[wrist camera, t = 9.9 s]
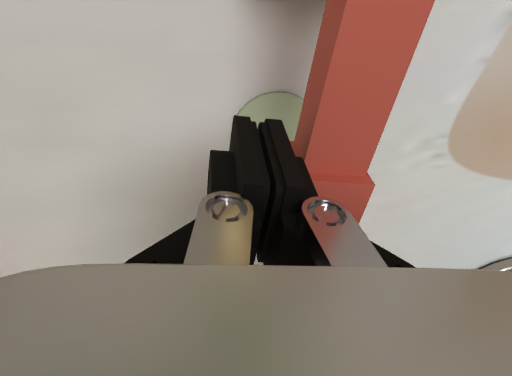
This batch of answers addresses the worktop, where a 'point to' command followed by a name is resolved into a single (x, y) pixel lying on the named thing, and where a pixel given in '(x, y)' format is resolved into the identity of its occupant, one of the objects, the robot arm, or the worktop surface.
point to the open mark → (275, 110)
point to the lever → (355, 92)
